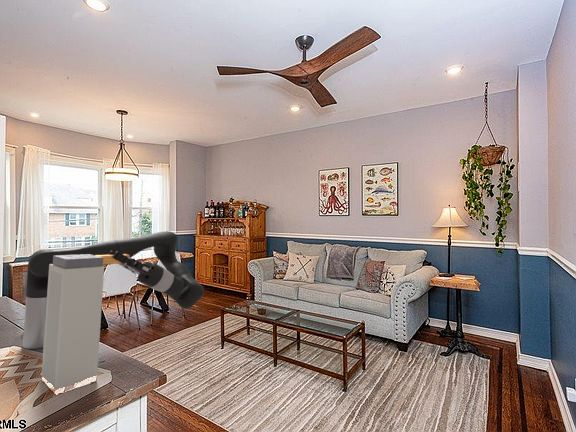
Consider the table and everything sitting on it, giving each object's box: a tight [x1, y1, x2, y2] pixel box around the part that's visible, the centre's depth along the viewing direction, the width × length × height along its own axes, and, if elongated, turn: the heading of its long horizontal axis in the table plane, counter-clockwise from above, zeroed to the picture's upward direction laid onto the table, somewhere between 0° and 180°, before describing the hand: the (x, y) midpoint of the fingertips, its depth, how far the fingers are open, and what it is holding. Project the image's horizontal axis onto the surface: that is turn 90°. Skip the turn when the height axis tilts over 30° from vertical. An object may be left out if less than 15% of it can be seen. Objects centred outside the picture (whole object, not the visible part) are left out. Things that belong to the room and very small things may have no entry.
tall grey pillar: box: [41, 264, 105, 390], centre depth 87 cm, size 12×10×32 cm
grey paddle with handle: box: [53, 254, 129, 269], centre depth 92 cm, size 10×18×2 cm, turn 143°
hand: (112, 254), depth 95 cm, fingers closed on grey paddle with handle, 3 cm apart
